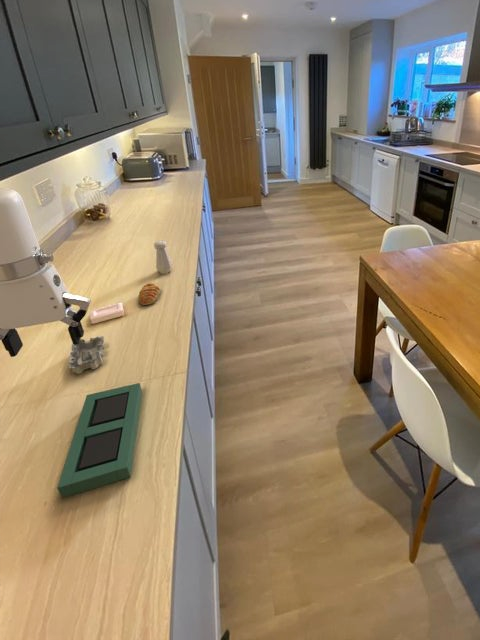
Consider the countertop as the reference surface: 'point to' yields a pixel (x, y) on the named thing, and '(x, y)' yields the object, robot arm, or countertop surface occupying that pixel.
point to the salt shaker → (162, 258)
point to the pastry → (149, 294)
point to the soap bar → (106, 313)
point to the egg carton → (86, 354)
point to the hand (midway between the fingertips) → (48, 345)
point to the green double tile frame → (111, 471)
